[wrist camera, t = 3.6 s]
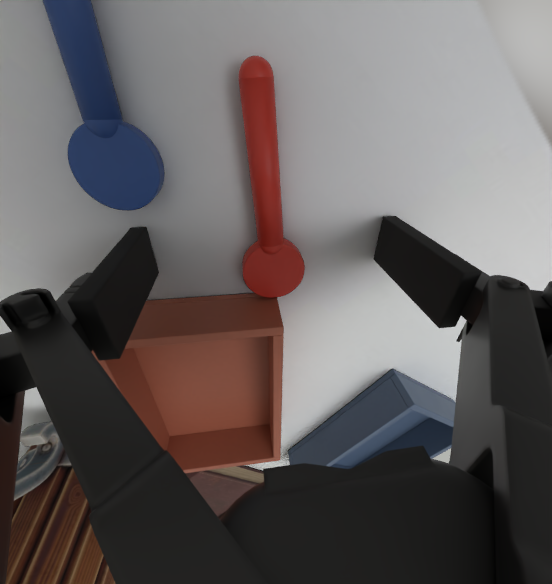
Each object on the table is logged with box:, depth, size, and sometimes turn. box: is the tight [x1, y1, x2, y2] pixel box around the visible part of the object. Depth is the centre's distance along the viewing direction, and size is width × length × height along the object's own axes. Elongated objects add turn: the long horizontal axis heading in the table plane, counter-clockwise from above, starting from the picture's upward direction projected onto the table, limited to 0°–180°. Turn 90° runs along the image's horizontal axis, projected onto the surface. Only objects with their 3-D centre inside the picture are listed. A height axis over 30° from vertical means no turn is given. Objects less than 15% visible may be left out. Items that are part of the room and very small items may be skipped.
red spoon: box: [238, 56, 305, 298], centre depth 14 cm, size 11×4×1 cm, turn 4°
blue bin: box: [288, 369, 456, 469], centre depth 27 cm, size 15×10×4 cm
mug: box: [6, 422, 116, 584], centre depth 18 cm, size 16×11×15 cm
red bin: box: [91, 293, 284, 473], centre depth 20 cm, size 15×10×4 cm
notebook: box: [185, 465, 264, 519], centre depth 33 cm, size 15×20×2 cm
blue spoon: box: [43, 0, 164, 210], centre depth 10 cm, size 11×4×1 cm, turn 0°
